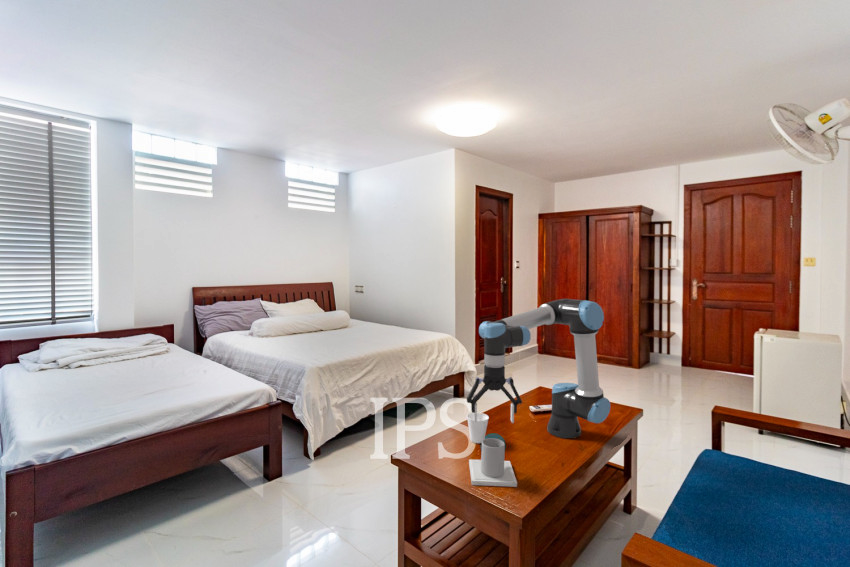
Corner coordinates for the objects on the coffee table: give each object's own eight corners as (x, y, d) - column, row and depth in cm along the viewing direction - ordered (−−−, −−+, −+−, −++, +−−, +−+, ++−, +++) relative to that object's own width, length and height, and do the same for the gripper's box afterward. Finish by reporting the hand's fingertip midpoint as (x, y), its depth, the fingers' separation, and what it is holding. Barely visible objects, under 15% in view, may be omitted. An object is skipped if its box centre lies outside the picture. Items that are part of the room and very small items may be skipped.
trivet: (509, 464, 160) (509, 460, 160) (517, 486, 144) (517, 482, 144) (468, 463, 161) (469, 459, 161) (471, 484, 145) (471, 480, 145)
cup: (487, 446, 176) (488, 421, 175) (464, 444, 178) (465, 419, 177) (488, 437, 185) (489, 413, 185) (467, 435, 187) (467, 411, 187)
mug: (498, 480, 145) (499, 449, 145) (476, 473, 150) (477, 443, 149) (511, 466, 155) (512, 438, 155) (490, 460, 160) (491, 433, 159)
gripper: (526, 362, 154) (525, 417, 155) (460, 362, 155) (459, 416, 156) (530, 368, 146) (529, 425, 148) (461, 367, 147) (460, 424, 149)
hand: (493, 421), depth 152 cm, fingers open, 13 cm apart
